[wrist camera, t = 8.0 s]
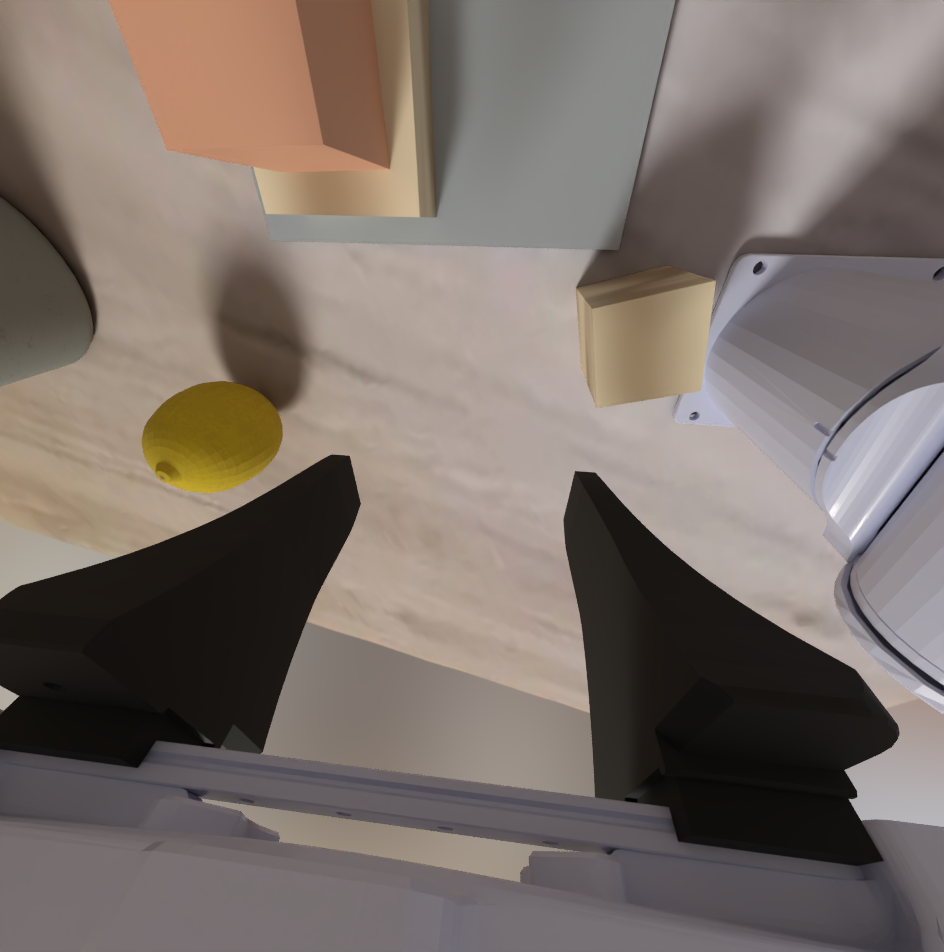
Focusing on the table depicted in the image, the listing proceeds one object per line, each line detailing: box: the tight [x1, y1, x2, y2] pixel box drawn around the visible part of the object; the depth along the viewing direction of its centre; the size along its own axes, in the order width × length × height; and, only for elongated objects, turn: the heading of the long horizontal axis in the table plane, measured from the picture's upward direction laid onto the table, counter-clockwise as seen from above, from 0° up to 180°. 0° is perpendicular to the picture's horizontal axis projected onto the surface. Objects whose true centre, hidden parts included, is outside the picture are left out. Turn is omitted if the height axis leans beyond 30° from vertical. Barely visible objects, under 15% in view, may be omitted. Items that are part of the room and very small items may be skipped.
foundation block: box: [253, 0, 436, 218], centre depth 12 cm, size 6×6×3 cm
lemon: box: [142, 381, 283, 493], centre depth 19 cm, size 6×6×8 cm
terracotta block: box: [108, 0, 390, 172], centre depth 9 cm, size 4×4×5 cm
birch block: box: [576, 265, 716, 408], centre depth 15 cm, size 4×4×5 cm
